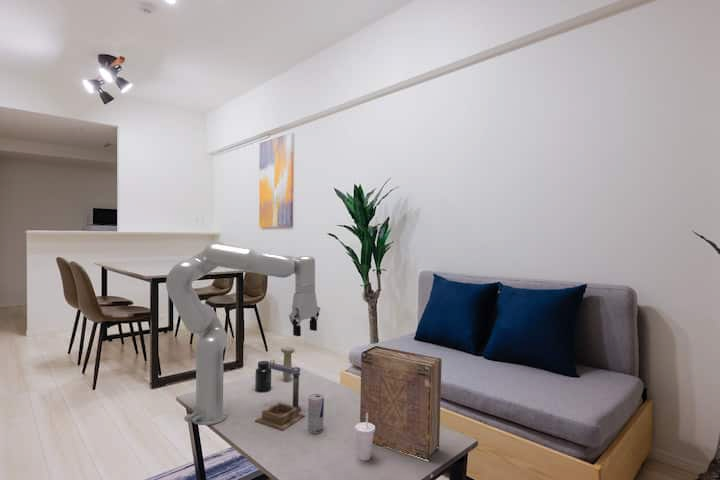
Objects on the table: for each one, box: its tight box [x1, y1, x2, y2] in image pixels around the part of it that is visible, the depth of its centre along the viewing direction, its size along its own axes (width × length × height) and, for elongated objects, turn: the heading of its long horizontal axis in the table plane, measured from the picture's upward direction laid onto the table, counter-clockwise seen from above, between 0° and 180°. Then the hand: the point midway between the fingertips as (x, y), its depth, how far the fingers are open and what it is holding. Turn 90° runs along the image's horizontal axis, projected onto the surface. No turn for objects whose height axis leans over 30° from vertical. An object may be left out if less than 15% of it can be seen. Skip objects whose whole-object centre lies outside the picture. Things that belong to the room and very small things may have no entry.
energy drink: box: [307, 393, 325, 435], centre depth 144 cm, size 5×5×12 cm
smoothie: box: [354, 413, 375, 461], centre depth 128 cm, size 6×6×14 cm
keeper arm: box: [268, 359, 301, 377], centre depth 163 cm, size 15×3×3 cm, turn 61°
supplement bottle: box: [254, 360, 272, 393], centre depth 180 cm, size 7×7×12 cm
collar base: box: [254, 375, 306, 432], centre depth 154 cm, size 18×13×14 cm
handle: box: [280, 346, 295, 382], centre depth 191 cm, size 5×6×15 cm
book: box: [359, 345, 443, 460], centre depth 136 cm, size 25×9×30 cm, turn 58°
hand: (305, 332), depth 157 cm, fingers open, 9 cm apart
